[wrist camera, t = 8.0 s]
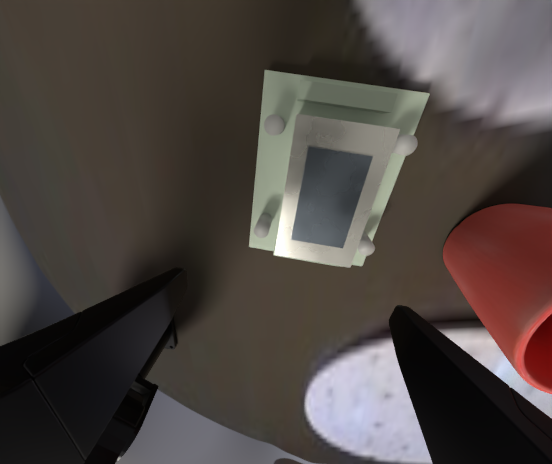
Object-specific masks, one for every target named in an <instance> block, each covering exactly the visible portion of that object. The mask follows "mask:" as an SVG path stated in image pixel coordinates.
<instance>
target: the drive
mask: <svg viewBox="0 0 552 464" xmlns="http://www.w3.org/2000/svg"><path fill="white" fill-rule="evenodd" d="M399 132H400V129H397V128H390V127H383V126H376V125H370V124H363V123H356V122H349V121H343V120H336V119H329V118H323V117H316V116H309V115H302V114H296V120H295V126H294V133H293V139H292V145H291V152H290V158H289V165H288V171H287V178H286V184H285V190H284V197H283V203H282V210H281V216H280V222H279V229H278V235H277V242H276V248H275V255H279V256H285V257H291V258H296V259H302V260H308V261H314V262H320V263H326V264H331V265H337V266H343V267H349V268H350V267H351V264H352V262H353V259H354V256H355V253H356V251H357V248H358V245H359V242H360V240H361V237H362V234H363V231H364V228H365V226H366V223H367V220H368V217H369V215H370V212H371V209H372V206H373V204H374V201H375V198H376V195H377V193H378V190H379V187H380V184H381V181H382V179H383V176H384V173H385V170H386V168H387V165H388V162H389V159H390V157H391V154H392V151H393V148H394V146H395V143H396V140H397V137H398V135H399Z"/></svg>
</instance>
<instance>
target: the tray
mask: <svg viewBox="0 0 552 464" xmlns="http://www.w3.org/2000/svg"><path fill="white" fill-rule="evenodd" d="M429 95H430V93H423V92H416V91H409V90H402V89H395V88H388V87H381V86H374V85H367V84H360V83H353V82H346V81H339V80H332V79H325V78H318V77H311V76H304V75H297V74H290V73H283V72H276V71H269V70H265V74H264V85H263V96H262V107H261V118H260V130H259V141H258V152H257V163H256V174H255V185H254V197H253V208H252V219H251V230H250V241H249V247H253V248H259V249H265V250H270V251H274V253H273V255H275V248H276V242H277V235H278V229H279V222H280V216H281V210H282V203H283V197H284V190H285V184H286V178H287V171H288V165H289V158H290V152H291V145H292V139H293V133H294V126H295V120H296V114H302V115H309V116H316V117H323V118H329V119H336V120H343V121H349V122H356V123H363V124H370V125H376V126H383V127H390V128H397V129H400V132H399V135H398V137H397V140H396V143H395V146H394V148H393V151H392V154H391V157H390V159H389V162H388V165H387V168H386V170H385V173H384V176H383V179H382V181H381V184H380V187H379V190H378V193H377V195H376V198H375V201H374V204H373V206H372V209H371V212H370V215H369V217H368V220H367V223H366V226H365V228H364V231H363V234H362V237H361V240H360V242H359V245H358V248H357V251H356V253H355V256H354V259H353V262H352V265H358V266H362V265H363V263H364V260H365V258H366V256H367V255H370V254H372V253H373V252H374V250H375V246H374V244H373V243H372V240H373V237H374V235H375V232H376V230H377V227H378V225H379V222H380V220H381V217H382V214H383V212H384V209H385V207H386V204H387V202H388V199H389V197H390V194H391V192H392V189H393V186H394V184H395V181H396V179H397V176H398V174H399V171H400V169H401V166H402V164H403V161H404V158H405V156H406V155H409V154H411V153H413V152H414V150H415V149H416V147H417V139H416V137H415V136H414V133H415V130H416V128H417V125H418V123H419V120H420V118H421V115H422V113H423V110H424V108H425V105H426V102H427V100H428V97H429ZM275 256H279V255H275ZM281 257H285V256H281ZM286 258H291V257H286ZM292 259H296V258H292ZM298 260H302V259H298ZM304 261H308V260H304ZM309 262H314V261H309ZM315 263H320V262H315ZM321 264H326V263H321ZM327 265H331V264H327ZM333 266H337V265H333ZM338 267H340V266H338Z"/></svg>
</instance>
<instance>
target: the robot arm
mask: <svg viewBox="0 0 552 464" xmlns="http://www.w3.org/2000/svg"><path fill="white" fill-rule="evenodd" d="M186 288H187V271H186V269H184V268H177V267H176V268H174V269H171V270H169V271H167V272H165V273H163V274H161V275H158V276H156V277H154V278H152V279H150V280H148V281H146V282H143V283H141V284H139V285H137V286H135V287H133V288H130V289H128V290H126V291H124V292H122V293H120V294H118V295H115V296H113V297H111V298H109V299H107V300H105V301H102V302H100V303H98V304H96V305H94V306H92V307H89V308H87V309H85V310H83V311H82V312H79V313H76V314H74V315H72V316H70V317H68V318H66V319H63V320H61V321H59V322H57V323H54V324H52V325H50V326H48V327H46V328H43V329H41V330H38V331H36V332H34V333H31V334H29V335H26V336H24V337H22V338H19V339H17V340H14V341H12V342H10V343H7V344H5V345H2V346H0V464H115V462H117V461H118V460H119V459H120V458H121V457H122V456H123V455H124V454H125V452H126V451H127V450H128V448H129V447H130V445H131V444H132V442H133V441H134V439H135V438H136V436H137V434H138V432H139V430H140V428H141V426H142V424H143V421H144V419H145V417H146V415H147V412H148V410H149V408H150V405H151V403H152V401H153V398H154V396H155V393H156V391H157V389H158V385H156V384H152V383H151V382H149V381H147V380H145V378H146V376H147V375H148V373H149V371H150V370H151V368H152V367H153V365H154V363H155V362H156V360H157V359H158V357H159V355H160V354H161V352H162V350H163V349H164V348H167V349H175V347H176V338H175V330H174V322H173V316H174V314H175V312H176V310H177V308H178V305H179V303H180V301H181V299H182V297H183V295H184V293H185V291H186ZM389 326H390V331H391V335H392V339H393V343H394V347H395V352H396V356H397V360H398V363H399V366H400V369H401V372H402V375H403V378H404V381H405V384H406V387H407V390H408V393H409V395H410V398H411V401H412V404H413V407H414V410H415V413H416V416H417V419H418V422H419V425H420V428H421V430H422V433H423V436H424V439H425V442H426V445H427V448H428V451H429V454H430V457H431V460H432V463H433V464H552V419H551V418H550V417H549V416H547V415H546V414H545V413H543V412H542V411H541V410H539V409H538V408H537V407H536V406H534V405H533V404H532V403H530V402H529V401H528V400H526V399H525V398H524V397H523V396H521V395H520V394H519V393H518V392H516V391H515V390H514V389H512V388H510V387H509V386H508V385H507V384H506V383H505V382H503V381H502V380H501V379H500V378H498V377H497V376H496V375H495V374H493V373H492V372H491V371H489V370H488V369H487V368H486V367H484V366H483V365H482V364H481V363H479V362H478V361H477V360H475V359H474V358H473V357H472V356H470V355H469V354H468V353H467V352H465V351H464V350H463V349H461V348H460V347H459V346H458V345H456V344H455V343H454V342H453V341H451V340H450V339H449V338H447V337H446V336H445V335H444V334H442V333H441V332H440V331H439V330H437V329H436V328H435V327H433V326H432V325H431V324H430V323H428V322H427V321H426V320H425V319H423V318H422V317H421V316H419V315H418V314H417V313H416V312H414V311H413V310H412V309H411V308H409V307H407V306H402V305H397V306H396V307H395V309H394V311H393V313H392V315H391V316H390V319H389Z"/></svg>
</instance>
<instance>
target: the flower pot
mask: <svg viewBox="0 0 552 464" xmlns="http://www.w3.org/2000/svg"><path fill="white" fill-rule="evenodd" d="M443 260H444V263H445V266H446V267H447V269H448V270H449V272H450V273H451V275H452V277H453V278H454V280H455V282H456V283H457V285H458V287H459V288H460V290H461V291H462V293H463V294H464V296H465V298H466V299H467V301H468V302H469V304H470V305H471V307H472V308H473V310H474V311H475V313H476V314H477V315H478V317H479V318H480V320H481V321H482V323H483V324H484V326H485V327H486V329H487V330H488V332H489V333H490V335H491V336H492V337H493V339H494V340H495V342H496V343H497V345H498V346H499V348H500V349H501V351H502V352H503V353H504V355H505V356H506V358H507V359H508V360H509V362H510V363H511V364H512V366H513V367H514V369H515V370H516V371H517V372H518V374H519V375H520V376H521V377H522V378H523V379H524V380H525V381H526V382H527V383H528V384H530V385H531V386H533V387H535V388H537V389H539V390H541V391H544V392H547V393H550V394H552V208H548V207H540V206H532V205H524V204H513V203H512V204H499V205H495V206H491V207H487V208H484V209H482V210H480V211H478V212H476V213H474V214H472V215H470V216H469V217H467V218H466V219H465V220H463V221H462V222H461V223H460V224H459V225H458V226H457V227H456V228H454V229H453V231H452V232H451V233H450V235H449V236H448V238H447V240H446V242H445V245H444V248H443Z"/></svg>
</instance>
